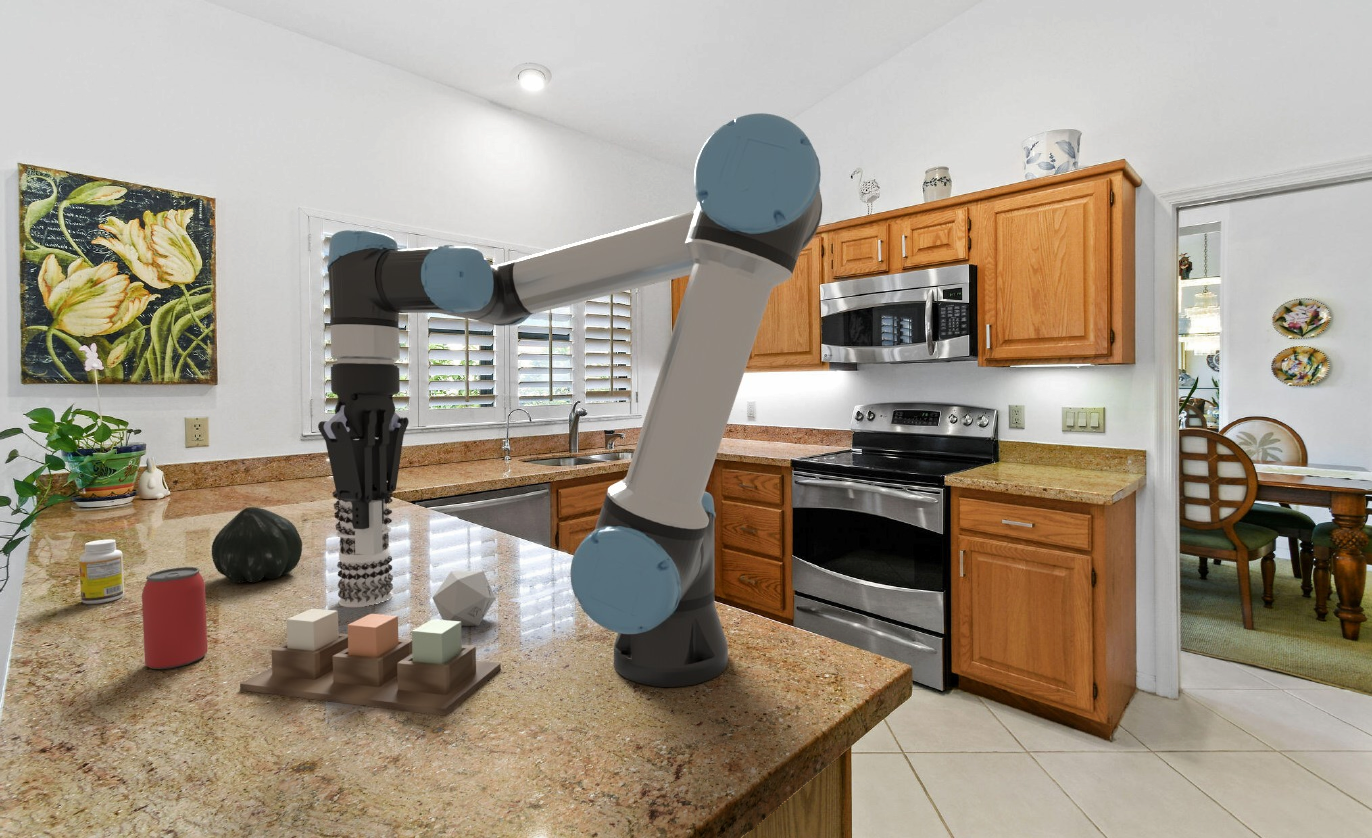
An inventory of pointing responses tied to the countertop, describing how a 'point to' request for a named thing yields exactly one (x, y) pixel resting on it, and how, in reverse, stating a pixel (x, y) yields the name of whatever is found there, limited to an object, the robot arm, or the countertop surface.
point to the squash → (256, 546)
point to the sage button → (436, 641)
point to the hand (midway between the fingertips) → (368, 552)
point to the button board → (373, 677)
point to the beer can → (174, 618)
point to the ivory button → (312, 629)
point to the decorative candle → (362, 562)
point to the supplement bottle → (101, 572)
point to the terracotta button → (373, 635)
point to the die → (464, 597)
